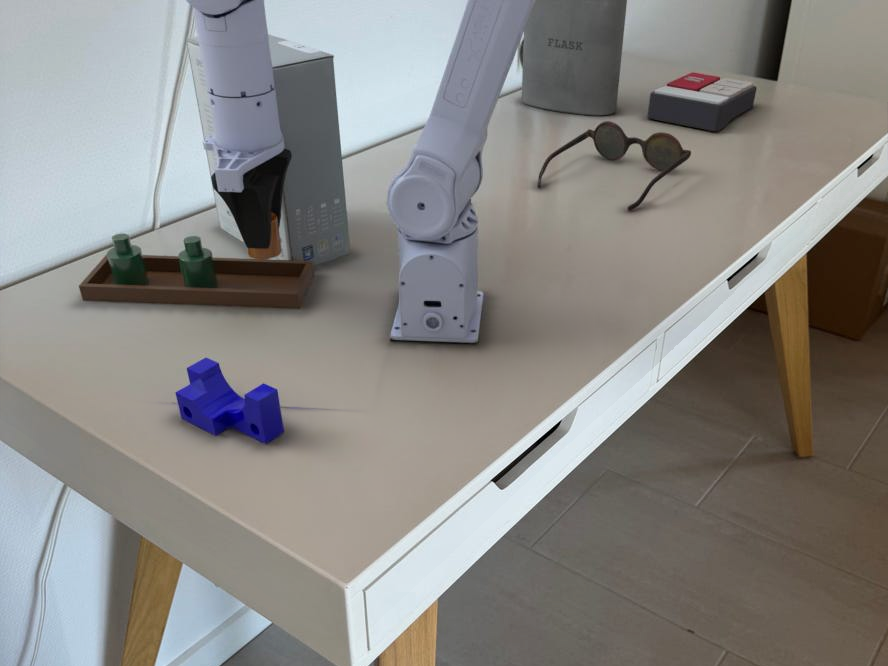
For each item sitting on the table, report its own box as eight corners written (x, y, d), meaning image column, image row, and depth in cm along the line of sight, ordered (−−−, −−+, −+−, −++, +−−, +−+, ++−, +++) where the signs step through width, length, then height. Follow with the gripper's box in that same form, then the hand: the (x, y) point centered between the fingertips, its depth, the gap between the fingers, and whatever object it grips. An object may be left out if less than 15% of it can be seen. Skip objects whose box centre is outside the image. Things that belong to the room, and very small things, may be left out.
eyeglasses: (687, 175, 116) (693, 135, 113) (636, 213, 106) (641, 171, 103) (586, 153, 122) (589, 114, 119) (529, 187, 112) (531, 146, 109)
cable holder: (181, 418, 73) (171, 376, 71) (214, 398, 75) (206, 357, 73) (251, 453, 70) (243, 410, 67) (284, 432, 72) (277, 389, 69)
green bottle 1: (142, 292, 89) (130, 244, 86) (110, 291, 89) (97, 243, 86) (153, 277, 91) (142, 230, 88) (122, 276, 92) (110, 229, 88)
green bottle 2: (212, 295, 89) (203, 247, 86) (180, 293, 89) (170, 245, 86) (222, 280, 91) (213, 232, 88) (190, 279, 91) (180, 231, 88)
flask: (514, 105, 138) (518, -45, 125) (528, 95, 142) (534, -52, 129) (608, 119, 133) (622, -36, 120) (620, 108, 137) (635, -43, 125)
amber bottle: (277, 260, 86) (270, 209, 83) (244, 258, 86) (235, 207, 83) (285, 245, 88) (278, 195, 85) (252, 244, 88) (244, 194, 85)
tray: (299, 312, 87) (297, 294, 86) (83, 303, 88) (78, 285, 87) (315, 278, 93) (313, 260, 91) (111, 270, 94) (107, 253, 92)
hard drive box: (353, 255, 97) (336, 55, 84) (292, 276, 93) (265, 69, 80) (275, 211, 106) (249, 24, 93) (216, 229, 102) (181, 36, 89)
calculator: (759, 81, 136) (722, 100, 126) (752, 111, 139) (716, 132, 128) (690, 69, 141) (650, 87, 131) (685, 98, 143) (645, 118, 133)
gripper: (219, 64, 84) (242, 206, 92) (167, 113, 72) (198, 270, 81) (295, 66, 83) (310, 209, 92) (254, 115, 72) (277, 273, 81)
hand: (263, 238), depth 86 cm, fingers closed on amber bottle, 3 cm apart
